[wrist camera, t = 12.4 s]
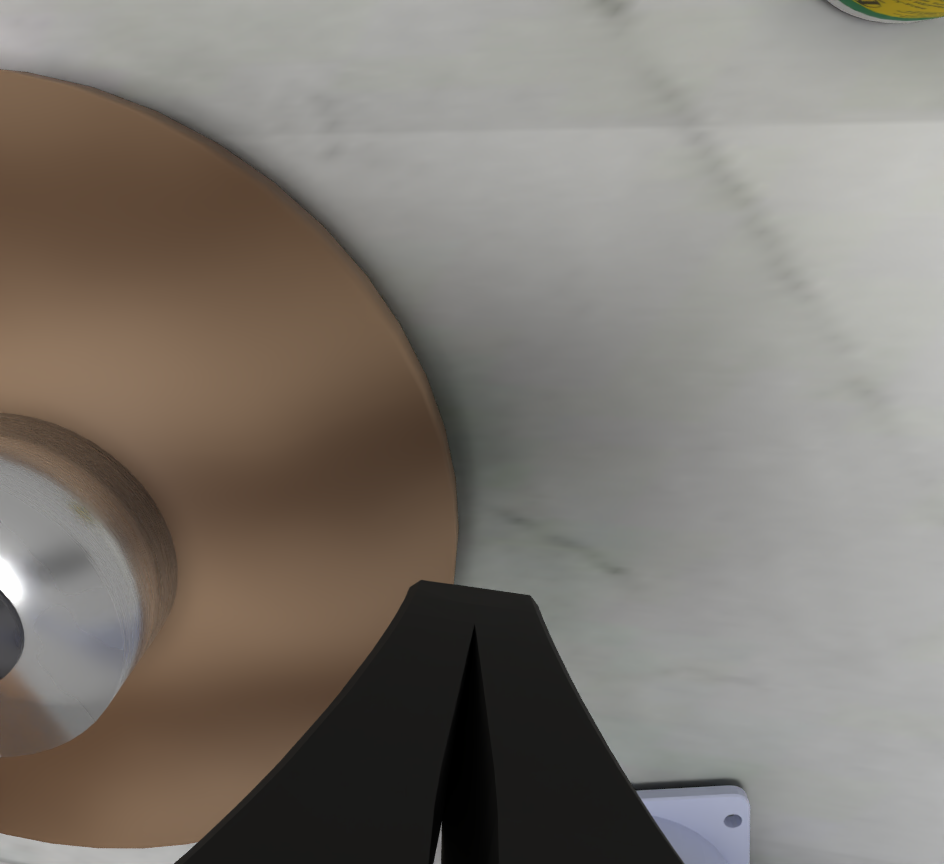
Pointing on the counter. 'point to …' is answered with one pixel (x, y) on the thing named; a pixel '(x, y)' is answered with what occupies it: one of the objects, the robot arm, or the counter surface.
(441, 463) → the disc
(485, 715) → the robot arm
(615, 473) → the counter surface
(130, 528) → the cover
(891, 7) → the supplement bottle
